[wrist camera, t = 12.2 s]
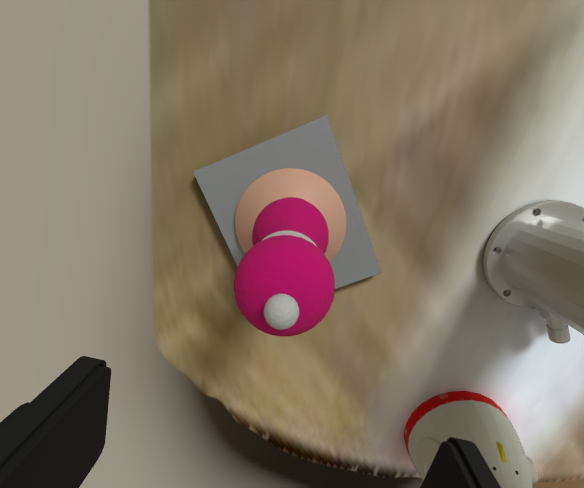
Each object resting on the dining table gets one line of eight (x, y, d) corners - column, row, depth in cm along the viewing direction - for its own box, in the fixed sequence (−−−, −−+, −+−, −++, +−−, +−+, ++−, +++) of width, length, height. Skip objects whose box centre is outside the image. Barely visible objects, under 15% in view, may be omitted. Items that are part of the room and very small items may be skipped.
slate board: (378, 268, 38) (382, 274, 36) (261, 309, 40) (259, 317, 37) (325, 116, 33) (327, 114, 31) (197, 171, 35) (191, 172, 33)
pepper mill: (281, 269, 36) (259, 405, 17) (245, 215, 34) (174, 296, 15) (337, 236, 34) (384, 343, 15) (302, 178, 33) (305, 217, 14)
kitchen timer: (522, 401, 42) (636, 529, 28) (485, 477, 46) (568, 624, 32) (420, 382, 42) (483, 502, 28) (392, 461, 46) (433, 602, 31)
